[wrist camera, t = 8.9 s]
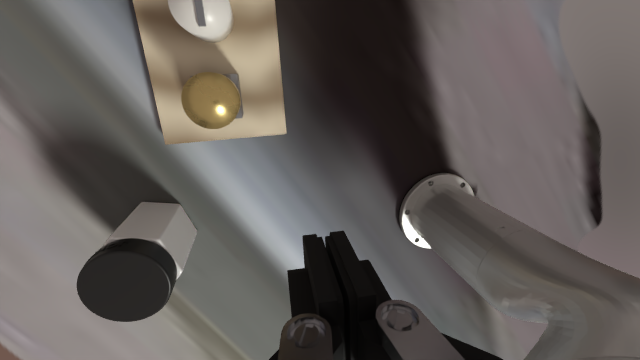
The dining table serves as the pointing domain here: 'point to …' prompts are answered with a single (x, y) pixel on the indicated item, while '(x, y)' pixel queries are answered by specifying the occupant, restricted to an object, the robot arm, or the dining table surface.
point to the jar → (138, 263)
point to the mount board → (215, 69)
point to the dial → (204, 18)
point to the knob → (210, 100)
